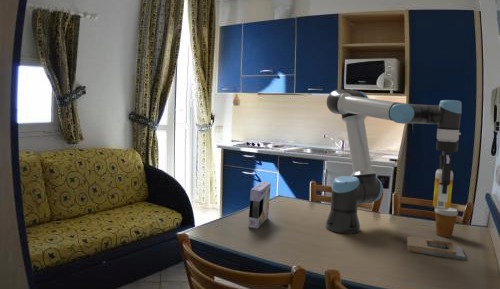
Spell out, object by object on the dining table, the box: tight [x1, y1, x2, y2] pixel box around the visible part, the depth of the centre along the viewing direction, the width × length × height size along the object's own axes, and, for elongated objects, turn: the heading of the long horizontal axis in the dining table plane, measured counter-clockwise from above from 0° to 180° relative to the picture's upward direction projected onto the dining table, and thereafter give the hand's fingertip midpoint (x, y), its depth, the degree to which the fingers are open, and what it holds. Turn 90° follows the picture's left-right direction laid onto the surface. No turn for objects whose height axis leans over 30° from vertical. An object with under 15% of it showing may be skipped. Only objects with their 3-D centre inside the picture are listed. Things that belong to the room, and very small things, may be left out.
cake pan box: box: [247, 181, 272, 230], centre depth 179 cm, size 19×5×18 cm, turn 162°
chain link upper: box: [406, 235, 456, 255], centre depth 154 cm, size 17×12×2 cm
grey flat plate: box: [421, 243, 466, 261], centre depth 153 cm, size 15×12×1 cm
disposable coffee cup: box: [434, 206, 459, 238], centre depth 174 cm, size 10×10×12 cm
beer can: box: [432, 168, 454, 210], centre depth 151 cm, size 6×6×15 cm
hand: (442, 199), depth 152 cm, fingers closed on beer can, 6 cm apart
